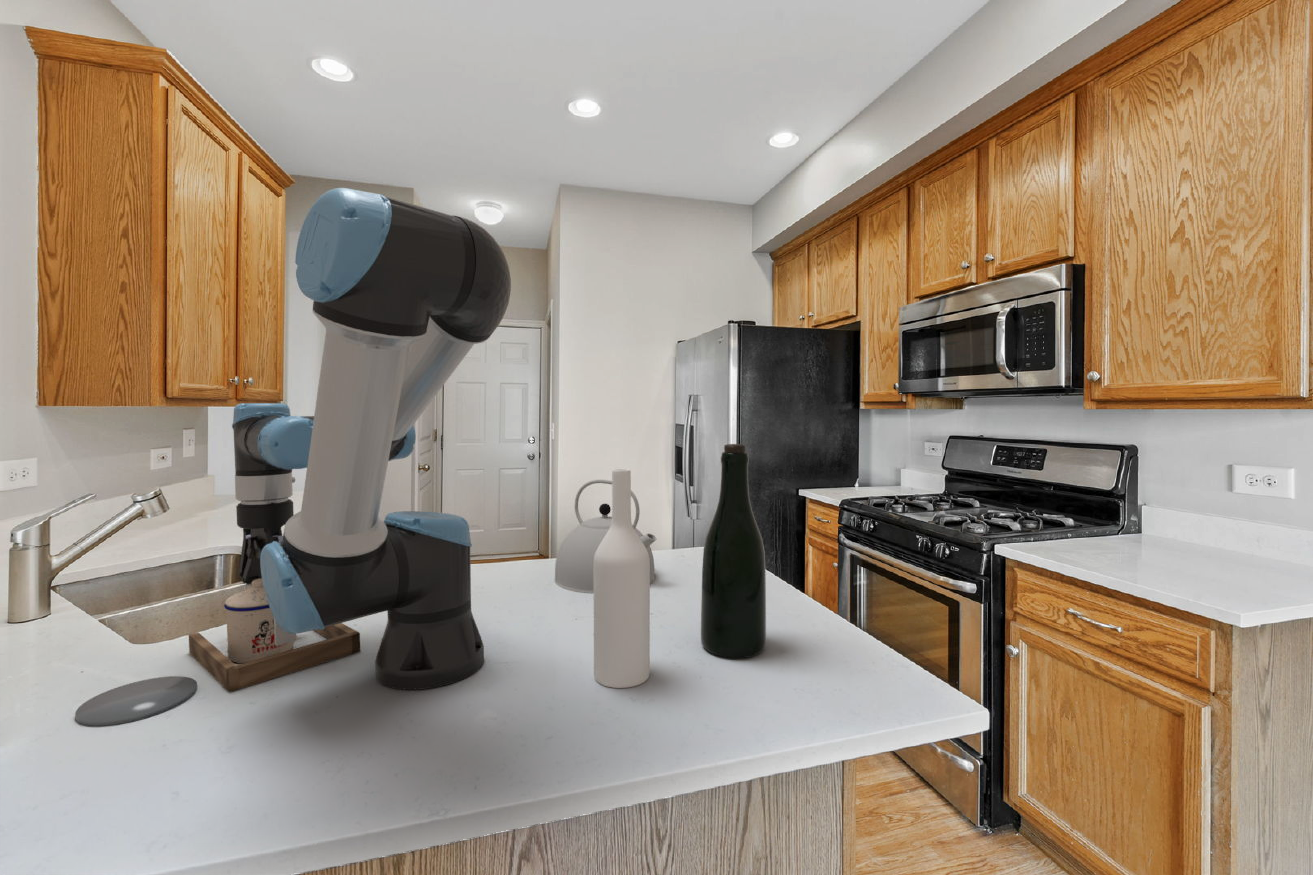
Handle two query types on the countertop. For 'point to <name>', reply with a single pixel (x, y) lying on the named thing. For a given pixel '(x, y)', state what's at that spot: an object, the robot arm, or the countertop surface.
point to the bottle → (621, 596)
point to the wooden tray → (274, 658)
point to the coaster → (136, 701)
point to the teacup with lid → (251, 626)
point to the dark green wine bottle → (733, 568)
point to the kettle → (590, 547)
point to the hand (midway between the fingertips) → (269, 631)
